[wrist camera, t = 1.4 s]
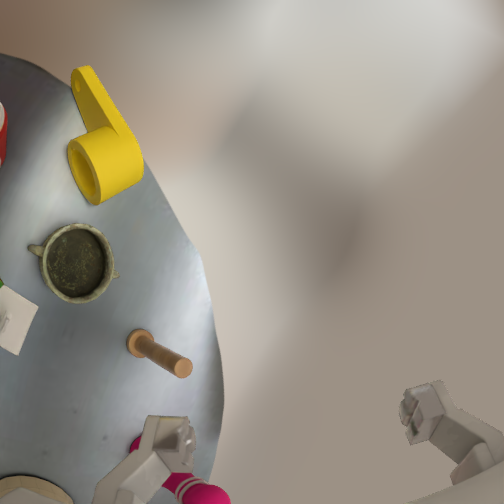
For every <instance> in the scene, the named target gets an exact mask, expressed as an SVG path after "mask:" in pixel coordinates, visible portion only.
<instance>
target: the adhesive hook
mask: <svg viewBox="0 0 504 504" xmlns="http://www.w3.org/2000/svg"><path fill="white" fill-rule="evenodd" d="M12 319H13V315H12V314H11V313H10V312H9V311H7V310H5V311H4V313H3V314H2V313H1V314H0V334H1V335H2V334H4V333H5V332H6V330H7V327H8V325H9V323H10V322H11V320H12Z"/></svg>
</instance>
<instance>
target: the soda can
mask: <svg viewBox="0 0 504 504" xmlns="http://www.w3.org/2000/svg"><path fill="white" fill-rule="evenodd" d="M6 136H7V113H6V110H5V108H4V107H3V105H2V104H1V102H0V167H1V165H2V164H3V162H4V159H5V156H6Z"/></svg>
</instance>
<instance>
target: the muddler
mask: <svg viewBox="0 0 504 504" xmlns="http://www.w3.org/2000/svg"><path fill="white" fill-rule="evenodd" d="M126 343H127V349H128V351H129V352H130V353H131V354H132V355H134V356H135V357H138V358H144V357H147V358H148V359H150V360H151V361H153V362H154V363H156V364H158V365H159V366H161V367H162V368H164V369H166V370H167V371H169V372H170V373H172V374H174V375H175V376H177V377H179V378H186V377H188V376H189V375H190V373H191V372H192V368H193V366H192V362H191V361H190V360H189V359H187V358H185V357H183V356H181V355H179V354H177V353H175V352H173V351H171V350H170V349H168V348H166V347H164V346H162V345H160V344H158V343H156V342H154V338H153V336H152V335H151V334H150V333H149V332H148V331H146V330H143V329H136V330H134V331H132V332H131V333H130V334H129V336H128V338H127V342H126Z"/></svg>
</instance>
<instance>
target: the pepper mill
mask: <svg viewBox="0 0 504 504" xmlns="http://www.w3.org/2000/svg"><path fill="white" fill-rule="evenodd" d="M140 440H141V436H140V437H138V438H137V439H136V440H135V441H134V442H133V444H132V445H131V448H130V453H131V452H133V451H134V450H138V448H139V444H140ZM171 473H172V474H171V475H170V476H169V477H168V479H167V480H166V481H165V482H164V483H163V485H162V487H165V488H167V489H169V490H170V491H171V492H172V493H174V495H175V499H176V501H177V502H178V503H180V504H231V502H230V498H229V496H228V495H227V493H226V492H225V491H224V490H223V489H221V488H220V487H218V486H215V485H209V483H208V482H206V481H205V480H204V479H202V478H200V477H195V476H194V475H193V474H192V473H177V472H171Z"/></svg>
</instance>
